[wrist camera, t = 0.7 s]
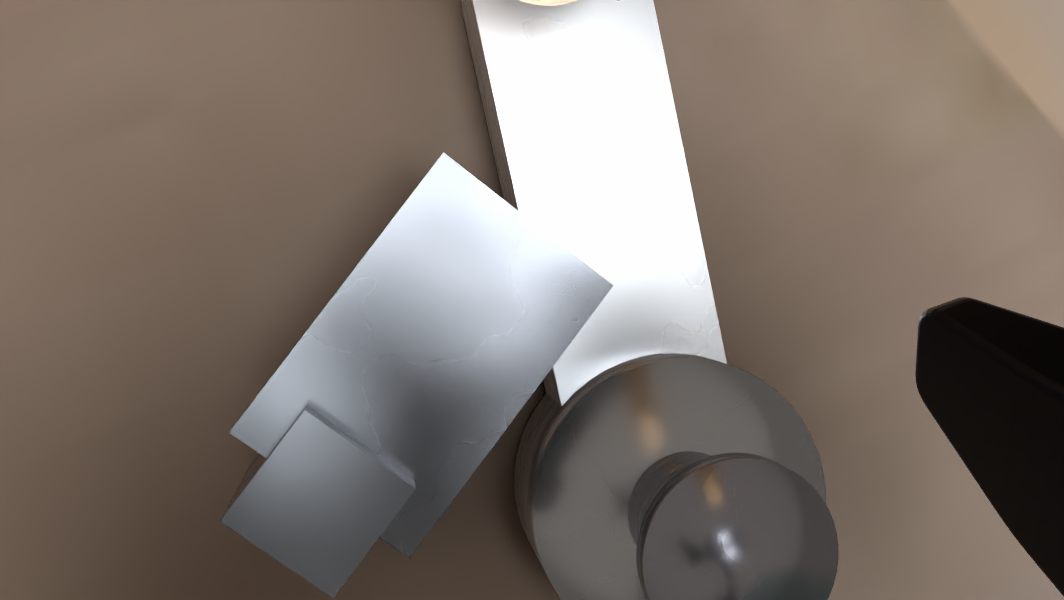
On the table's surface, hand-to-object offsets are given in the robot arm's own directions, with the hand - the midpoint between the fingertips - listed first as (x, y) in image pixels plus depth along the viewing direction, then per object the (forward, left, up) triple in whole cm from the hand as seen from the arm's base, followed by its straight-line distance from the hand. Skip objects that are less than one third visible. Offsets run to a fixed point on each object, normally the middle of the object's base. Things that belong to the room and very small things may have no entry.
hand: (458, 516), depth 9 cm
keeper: (0, 0, -13) cm, 13 cm away
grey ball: (-6, -2, -10) cm, 12 cm away
